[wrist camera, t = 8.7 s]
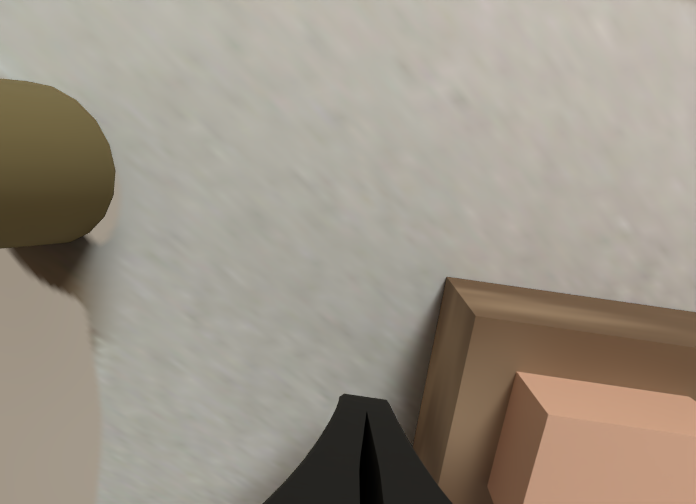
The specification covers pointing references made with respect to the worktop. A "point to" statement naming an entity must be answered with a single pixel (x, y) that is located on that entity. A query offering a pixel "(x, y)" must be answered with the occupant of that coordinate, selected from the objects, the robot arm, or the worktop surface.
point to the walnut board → (533, 366)
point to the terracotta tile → (594, 445)
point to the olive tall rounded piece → (50, 167)
